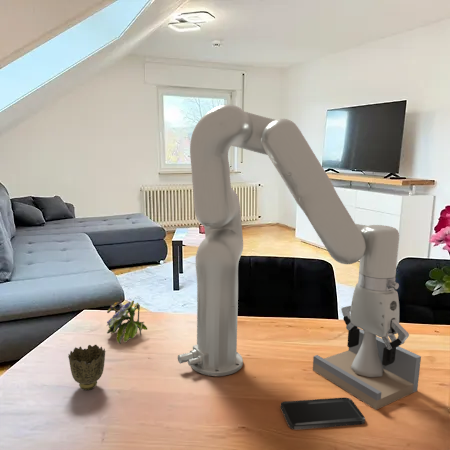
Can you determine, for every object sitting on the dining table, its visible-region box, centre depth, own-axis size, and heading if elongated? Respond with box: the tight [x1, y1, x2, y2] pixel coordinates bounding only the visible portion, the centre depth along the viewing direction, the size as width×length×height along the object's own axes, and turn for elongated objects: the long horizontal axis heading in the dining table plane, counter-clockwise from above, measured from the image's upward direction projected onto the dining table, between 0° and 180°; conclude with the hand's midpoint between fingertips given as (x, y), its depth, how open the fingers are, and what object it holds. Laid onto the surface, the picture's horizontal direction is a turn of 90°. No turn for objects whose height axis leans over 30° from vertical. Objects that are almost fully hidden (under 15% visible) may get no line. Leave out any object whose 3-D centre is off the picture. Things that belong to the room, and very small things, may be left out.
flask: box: [351, 329, 384, 377], centre depth 95 cm, size 7×7×10 cm
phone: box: [280, 397, 366, 430], centre depth 83 cm, size 8×1×15 cm
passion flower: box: [106, 300, 148, 345], centre depth 116 cm, size 11×11×12 cm
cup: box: [68, 344, 106, 391], centre depth 90 cm, size 8×7×8 cm
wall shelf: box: [312, 327, 422, 410], centre depth 95 cm, size 14×18×8 cm
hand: (369, 354), depth 96 cm, fingers open, 9 cm apart
